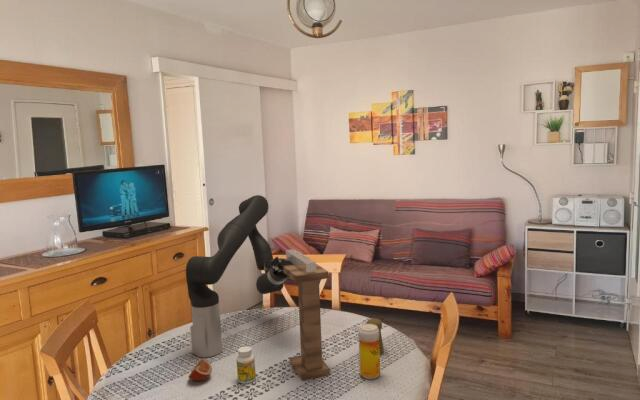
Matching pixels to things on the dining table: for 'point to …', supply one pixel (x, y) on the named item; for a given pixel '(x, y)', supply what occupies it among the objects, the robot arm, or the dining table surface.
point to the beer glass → (369, 351)
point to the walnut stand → (309, 323)
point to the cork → (379, 325)
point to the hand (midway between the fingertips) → (290, 257)
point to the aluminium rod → (301, 261)
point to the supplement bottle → (245, 365)
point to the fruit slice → (201, 370)
